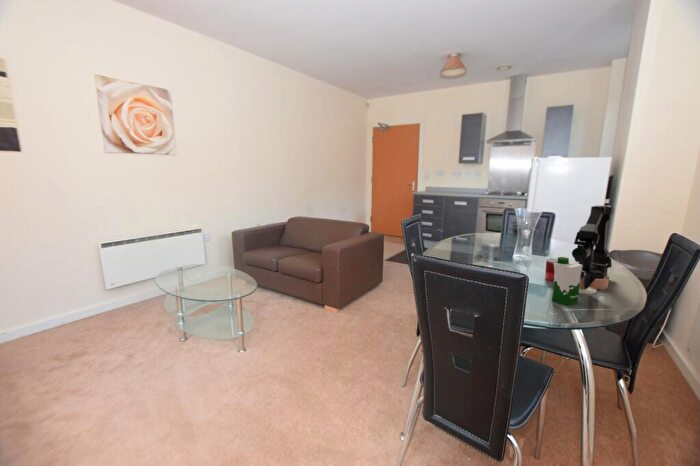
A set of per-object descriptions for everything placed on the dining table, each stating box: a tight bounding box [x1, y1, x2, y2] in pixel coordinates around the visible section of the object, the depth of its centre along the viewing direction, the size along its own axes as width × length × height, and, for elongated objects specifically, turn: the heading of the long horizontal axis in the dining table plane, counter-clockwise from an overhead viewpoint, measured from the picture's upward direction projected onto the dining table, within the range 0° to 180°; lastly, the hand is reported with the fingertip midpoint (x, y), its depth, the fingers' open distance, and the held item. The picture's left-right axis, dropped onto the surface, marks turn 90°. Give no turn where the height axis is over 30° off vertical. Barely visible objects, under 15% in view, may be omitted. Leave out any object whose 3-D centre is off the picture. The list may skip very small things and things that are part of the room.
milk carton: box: [551, 256, 583, 307], centre depth 135 cm, size 9×9×20 cm
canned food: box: [544, 258, 558, 283], centre depth 164 cm, size 8×8×11 cm
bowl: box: [590, 276, 610, 290], centre depth 154 cm, size 10×10×5 cm
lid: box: [579, 277, 598, 295], centre depth 148 cm, size 11×11×6 cm
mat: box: [578, 289, 609, 297], centre depth 149 cm, size 14×14×1 cm
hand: (582, 287), depth 148 cm, fingers open, 5 cm apart
